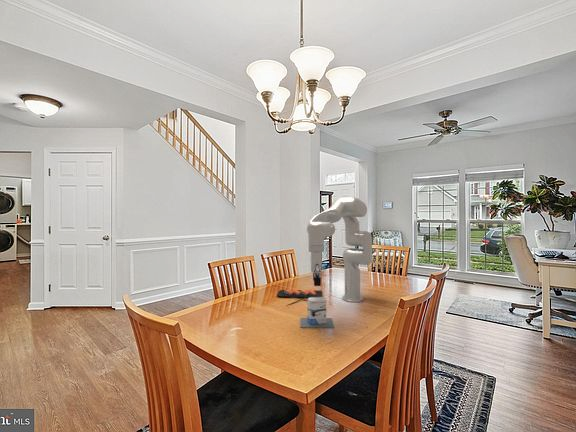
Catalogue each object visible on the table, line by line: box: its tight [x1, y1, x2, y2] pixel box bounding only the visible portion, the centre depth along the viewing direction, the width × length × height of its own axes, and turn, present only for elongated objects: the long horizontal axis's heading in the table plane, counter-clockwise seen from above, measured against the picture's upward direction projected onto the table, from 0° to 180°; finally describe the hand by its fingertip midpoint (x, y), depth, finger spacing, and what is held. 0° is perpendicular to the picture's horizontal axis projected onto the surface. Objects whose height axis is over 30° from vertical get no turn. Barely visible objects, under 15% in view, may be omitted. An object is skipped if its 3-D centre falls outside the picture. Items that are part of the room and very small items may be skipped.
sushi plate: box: [276, 288, 323, 307], centre depth 191 cm, size 29×30×4 cm
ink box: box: [307, 296, 327, 324], centre depth 150 cm, size 8×5×12 cm, turn 101°
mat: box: [299, 317, 335, 329], centre depth 150 cm, size 12×16×1 cm
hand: (316, 283), depth 150 cm, fingers open, 9 cm apart
